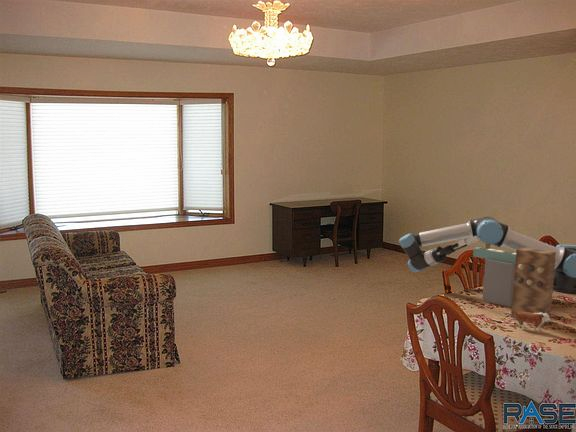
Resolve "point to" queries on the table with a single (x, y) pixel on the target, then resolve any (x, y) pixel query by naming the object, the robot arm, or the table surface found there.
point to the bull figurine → (531, 319)
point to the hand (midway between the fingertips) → (471, 239)
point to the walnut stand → (533, 281)
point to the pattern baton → (494, 254)
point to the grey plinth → (498, 282)
